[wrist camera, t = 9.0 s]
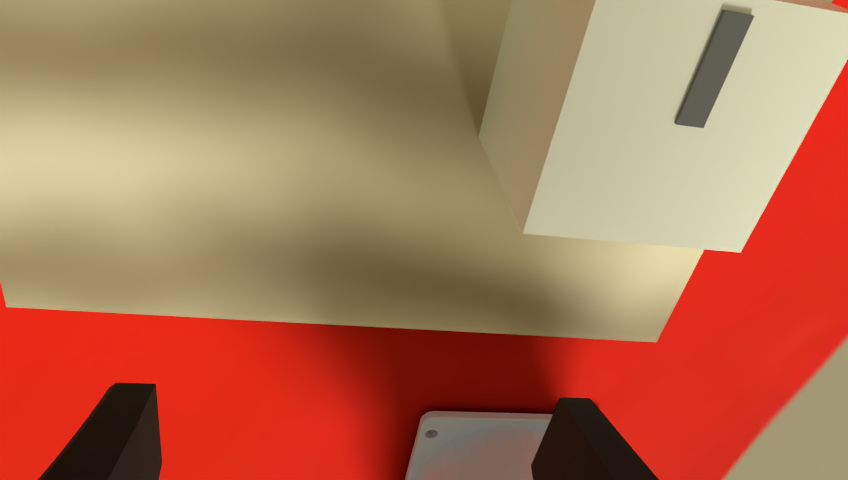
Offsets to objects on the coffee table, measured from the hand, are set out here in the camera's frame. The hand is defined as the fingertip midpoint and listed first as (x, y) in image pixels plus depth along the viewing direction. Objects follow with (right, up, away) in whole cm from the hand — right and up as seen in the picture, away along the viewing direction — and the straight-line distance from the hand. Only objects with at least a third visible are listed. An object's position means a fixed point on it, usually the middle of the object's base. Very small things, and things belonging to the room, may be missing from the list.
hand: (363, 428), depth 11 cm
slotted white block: (+6, +8, +5) cm, 12 cm away
